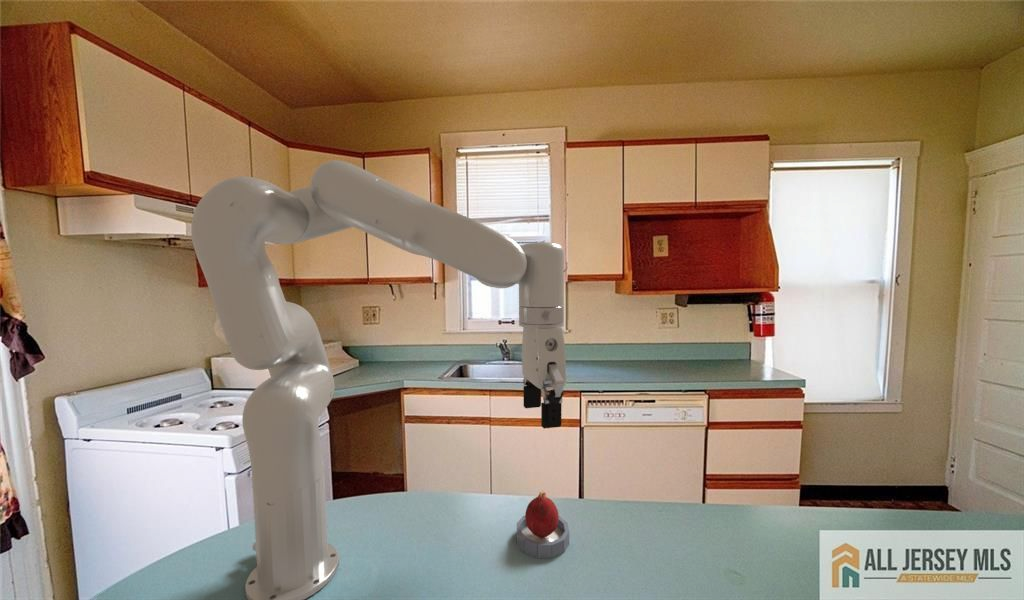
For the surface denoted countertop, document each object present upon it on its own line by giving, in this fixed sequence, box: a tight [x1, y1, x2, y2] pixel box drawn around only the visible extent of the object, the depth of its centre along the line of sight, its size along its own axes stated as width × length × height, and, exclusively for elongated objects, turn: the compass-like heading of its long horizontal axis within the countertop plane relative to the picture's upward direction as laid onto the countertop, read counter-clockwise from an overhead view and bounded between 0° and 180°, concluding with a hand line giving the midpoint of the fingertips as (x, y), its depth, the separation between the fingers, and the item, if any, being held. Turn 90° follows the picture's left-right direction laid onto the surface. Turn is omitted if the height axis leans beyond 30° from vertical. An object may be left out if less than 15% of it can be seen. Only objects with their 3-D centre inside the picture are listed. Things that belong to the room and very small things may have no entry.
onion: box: [524, 490, 560, 538], centre depth 68 cm, size 6×6×8 cm
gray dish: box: [516, 515, 570, 559], centre depth 69 cm, size 9×9×2 cm
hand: (541, 416), depth 67 cm, fingers open, 9 cm apart
